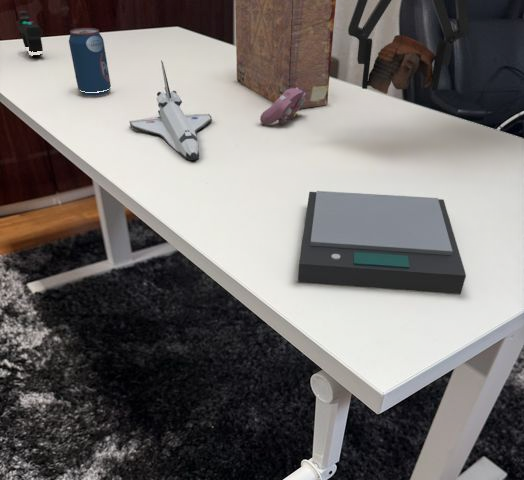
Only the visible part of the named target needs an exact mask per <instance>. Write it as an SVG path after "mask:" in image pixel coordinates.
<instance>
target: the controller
mask: <svg viewBox="0 0 524 480" xmlns="http://www.w3.org/2000/svg"><path fill="white" fill-rule="evenodd" d="M18 13H19V14H20V15H21V16H20V17H19V19H18V20H16V24H17V27H18V30H19V33H20V35H21V38H22V42H23V45H24V48H25V47H29V51H31V52H32V51H33V52H37V51H43V52H44V49H43V48H44V47H43V42H42V36H43V34H44V33H43V29H42V28H41V27H40V25H38V24H37V22H36V21H35V20H33V19H32V18H31V17H29V16H28V15H27V14H28V11H27V10H20V11H19V12H18ZM33 56H40V57H41V56H43V54H40V55H33Z"/></svg>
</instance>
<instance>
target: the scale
mask: <svg viewBox="0 0 524 480" xmlns="http://www.w3.org/2000/svg"><path fill="white" fill-rule="evenodd" d="M303 227H304V228H303V233H302V241H301V248H300V253H299V254H300V255H299V260H298V262H299V263H298V275H297V282H298V283H303V284H304V283H305V284H317V285H329V286H330V285H331V286H344V287H356V288H357V287H359V288H369V289H371V288H372V289H382V290H384V289H385V290H396V291H397V290H398V291H409V292H410V291H411V292H425V293H437V294H438V293H439V294H451V295H461V294H462V291H463V287H464V283H465V280H466V277H467V273H466V270H465V268H464V264H463V261H462V256H461V254H460V250H459V247H458V244H457V240H456V237H455V234H454V233H455V232H454V229H453V227H452V223H451V220H450V216H449V212H448V210H447V206H446V203H445V200H444V199H443V198H441V199H440V198H438V197H427V196H426V197H425V196H413V195H412V196H411V195H394V194H393V195H392V194H377V193H376V194H375V193H360V192H359V193H358V192H344V191H343V192H342V191H340V192H339V191H324V190H316V191H309V192H308V199H307V205H306V213H305V219H304V226H303Z"/></svg>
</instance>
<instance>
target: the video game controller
mask: <svg viewBox="0 0 524 480" xmlns="http://www.w3.org/2000/svg"><path fill="white" fill-rule="evenodd" d="M306 98H307V94H306V93H305V92H304V91H303V90H299V89H298V88H291V89H287V90H286V91H285V92H284V93H283V95H281V96H280V97H279V98H278V99H277V100H276V101H275V102H273V104H271V106H269V107H268V108H267V109H265V110H264V111H263V112H261V114H260V118H259V120H260V123H261V125H264V126H269V125H273V124H274V123H276V122H279V123H281V124H284V123H285V122H286V121H288V119H289V120H291V119H293V118H294V117H295V116H296V115H297V112H298V111H299V110H300V109H299V108H300V107H301V106H302V105H303V104H304V102H305V100H306Z"/></svg>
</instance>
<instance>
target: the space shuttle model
mask: <svg viewBox="0 0 524 480" xmlns="http://www.w3.org/2000/svg"><path fill="white" fill-rule="evenodd" d="M160 63H161V69H162V70H161V71H162V75H163V76H162V77H163V81H164V91H165V92H162V91H158V92H157V93H156V95H157V97H156V101H157V106H158V108H159V110H157V113H158V115H159V116H153V117H147V118H141V119H140V118H139V119H134V120H129V121H128V122H129V126H131V127H132V128H133V129H136V130H139V131H142V132H144V133H148V134H153V135H157V136H159V137H161V138H162V139H163V140H164V141H165V142H166V143H167V144H168V145H169V146H170V147H171V148H172V149H174V150H175V151H176V152H177V153H178V154H179V155H181V157H182V158H184V159H185V160H188V161H195V160H199V158H200V150H199V142H198V137H197V132H198V131H200V130H201V129H203V128H204V127H205V126H207V125H208V124H209V123H210V122H212V120H213V117H212V115H211V114H210V113H190V114H188V113H187V114H185V113H184V111H183V109H182V108H181V107H180V106H181V105H182V103H183V101H182V99H181V97H180V95H179V94H177V93H178V92H177V91H176V90H172V91H171V90H170V86H169V82H168V78H167V74H166V69H165V66H164V62H163V60H162V59H161V60H160Z"/></svg>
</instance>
